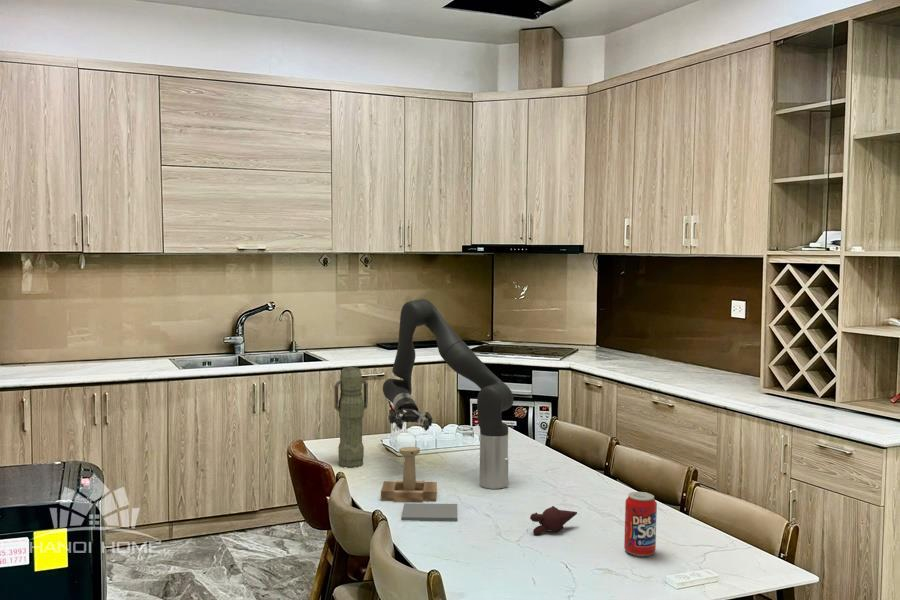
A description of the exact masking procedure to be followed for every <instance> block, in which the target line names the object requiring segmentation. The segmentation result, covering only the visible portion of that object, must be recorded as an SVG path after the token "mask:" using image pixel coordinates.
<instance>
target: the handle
mask: <svg viewBox="0 0 900 600" xmlns="http://www.w3.org/2000/svg"><path fill="white" fill-rule="evenodd" d="M398 452H399V454H400V455H401V456H403V475H402V481H403V487H404V490H409V491H415V486H416V481H417V475H416V456H417V455H419V454H420V453H421V448H420V447H419V446H405V447H401V448H399V451H398Z"/></svg>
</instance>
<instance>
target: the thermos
mask: <svg viewBox="0 0 900 600" xmlns="http://www.w3.org/2000/svg"><path fill="white" fill-rule="evenodd" d="M339 377H340V379H339V381H336V383H335V384H334V386H333V387H334V392H333V393H334V406H333V407H334V409H335V410H336V411H338V417H339V445H338V450H337V451H338V465H339V467H341V468H344V467H347V468H346V469H353V468H354V467H356V468H360V467H362V466H364V452H365V451H364V450H365V446H364V444H363V418H364V411H365V409H368V405H369V404H368V403H369V402H368V400H369V398H368V397H369V396H368V393H369V392H368V387H369V386H368V385H369V383H368V382H367V380H365V379H363V376H362V372H361V369H360V368H358V367H357V366H345V367H343V368H342V370H341V373H340V376H339ZM362 384H363V385H362ZM339 386H340V387H339ZM362 387H363V388H362ZM339 389H340V392H339ZM362 389H363V394H362ZM339 393H340V397H339ZM362 395H363V396H362ZM359 466H360V467H359ZM354 469H355V468H354Z"/></svg>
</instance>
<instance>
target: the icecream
mask: <svg viewBox="0 0 900 600" xmlns="http://www.w3.org/2000/svg"><path fill="white" fill-rule="evenodd" d="M577 515H578V511H574V510H573V511H572V510H564V509H558V507H556V506H554V505H552V506H551V507H548V508H546V509H545V510H544V511H543V512H542V514H541V513H538V512H534V513H532V514H531V515H530V516H529V520H530V521H531V522H536V523H538V524H539V525H537V526H536V527H534V528H533V530H532V534H533V535H535V536H539V535H541V534H543V533H545V531H549V532H560V531H562V530H564V525H566V523H568V522H570V520H571V519H573V518H574V517H575V516H577Z"/></svg>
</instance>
